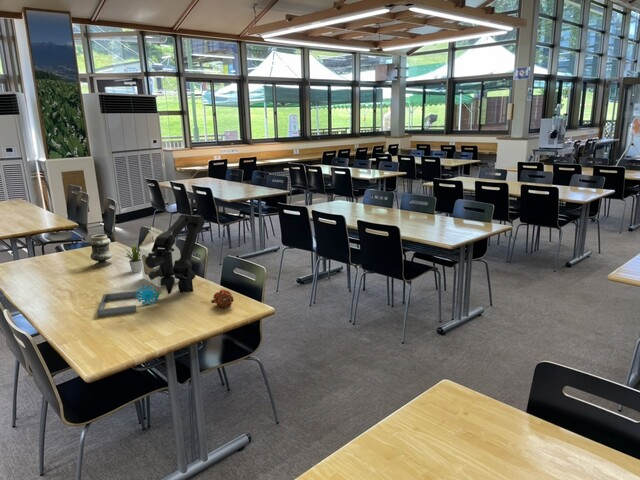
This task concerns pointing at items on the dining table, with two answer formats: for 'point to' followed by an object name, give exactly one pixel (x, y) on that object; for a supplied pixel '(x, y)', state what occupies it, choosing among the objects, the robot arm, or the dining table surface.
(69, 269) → the dining table surface
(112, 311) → the gear seat
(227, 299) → the dragon fruit
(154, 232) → the gable box
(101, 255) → the apothecary jar
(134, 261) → the house plant
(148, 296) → the gear
